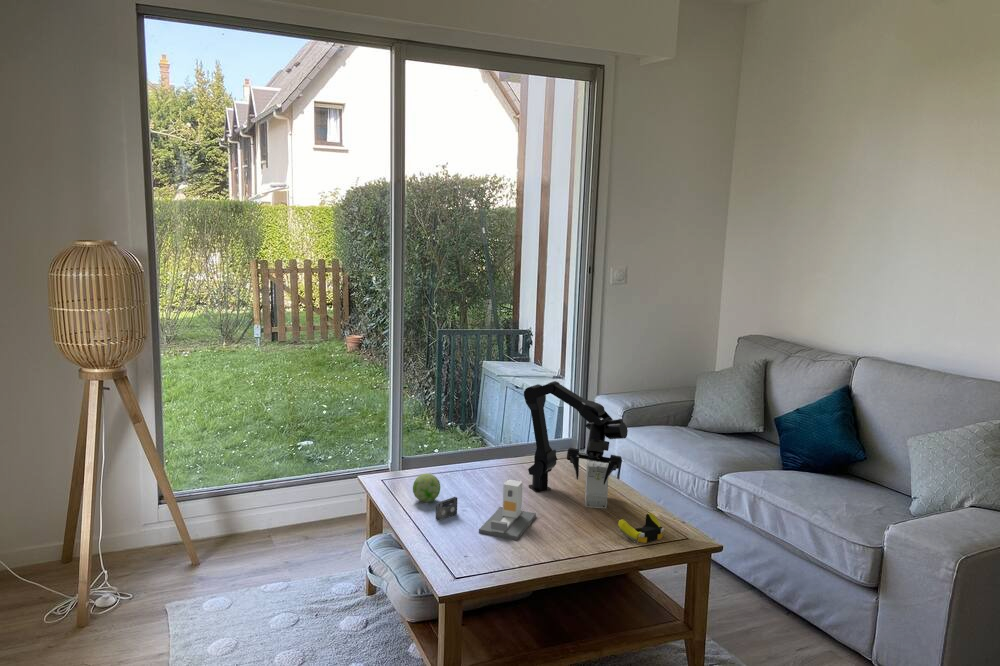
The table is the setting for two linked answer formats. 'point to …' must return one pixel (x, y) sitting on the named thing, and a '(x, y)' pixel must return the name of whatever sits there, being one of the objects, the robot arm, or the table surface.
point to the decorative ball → (426, 487)
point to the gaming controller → (643, 530)
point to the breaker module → (512, 498)
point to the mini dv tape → (446, 508)
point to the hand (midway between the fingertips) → (590, 481)
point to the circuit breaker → (596, 484)
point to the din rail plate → (507, 524)
